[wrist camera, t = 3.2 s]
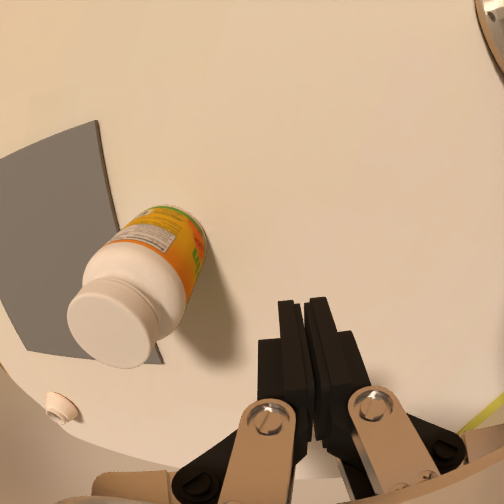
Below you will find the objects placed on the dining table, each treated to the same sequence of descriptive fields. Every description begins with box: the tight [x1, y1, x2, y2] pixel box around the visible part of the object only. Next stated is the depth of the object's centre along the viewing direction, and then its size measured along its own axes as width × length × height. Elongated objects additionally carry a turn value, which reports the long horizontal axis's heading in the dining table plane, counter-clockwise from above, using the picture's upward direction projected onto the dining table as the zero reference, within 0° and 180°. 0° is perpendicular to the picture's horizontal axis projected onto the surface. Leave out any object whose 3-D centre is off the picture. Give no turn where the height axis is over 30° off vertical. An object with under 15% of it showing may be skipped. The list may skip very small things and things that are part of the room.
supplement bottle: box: [67, 205, 207, 369], centre depth 15 cm, size 5×5×10 cm
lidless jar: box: [46, 392, 78, 425], centre depth 29 cm, size 5×3×5 cm
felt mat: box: [0, 120, 163, 364], centre depth 21 cm, size 18×20×1 cm
